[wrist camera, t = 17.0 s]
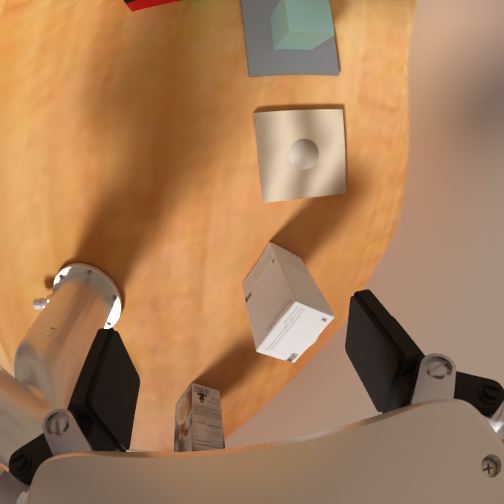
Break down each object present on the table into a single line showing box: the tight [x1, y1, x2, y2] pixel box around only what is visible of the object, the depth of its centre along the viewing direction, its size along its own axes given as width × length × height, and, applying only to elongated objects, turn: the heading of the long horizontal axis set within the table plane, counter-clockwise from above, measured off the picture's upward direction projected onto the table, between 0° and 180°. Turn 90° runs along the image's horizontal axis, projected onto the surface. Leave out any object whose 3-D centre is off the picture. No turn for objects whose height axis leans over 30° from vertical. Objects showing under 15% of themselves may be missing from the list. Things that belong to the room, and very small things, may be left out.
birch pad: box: [253, 109, 346, 203], centre depth 38 cm, size 12×12×1 cm
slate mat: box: [240, 0, 339, 77], centre depth 31 cm, size 12×12×1 cm
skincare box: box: [242, 242, 335, 363], centre depth 38 cm, size 8×6×15 cm
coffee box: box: [174, 383, 225, 452], centre depth 48 cm, size 9×6×16 cm
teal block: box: [270, 0, 335, 50], centre depth 26 cm, size 5×5×8 cm
